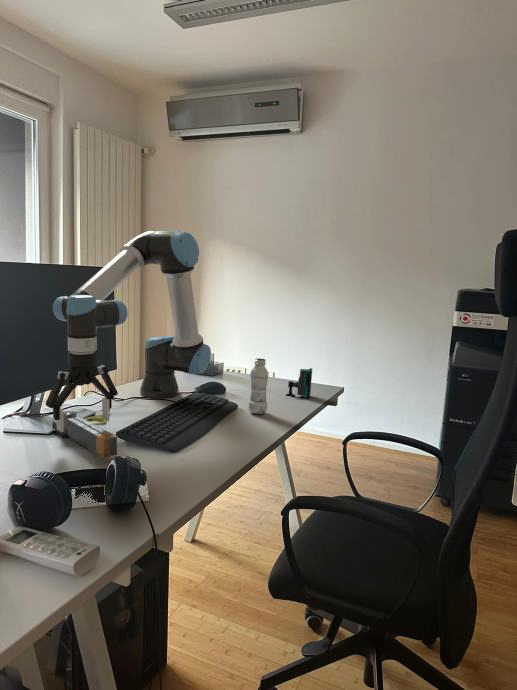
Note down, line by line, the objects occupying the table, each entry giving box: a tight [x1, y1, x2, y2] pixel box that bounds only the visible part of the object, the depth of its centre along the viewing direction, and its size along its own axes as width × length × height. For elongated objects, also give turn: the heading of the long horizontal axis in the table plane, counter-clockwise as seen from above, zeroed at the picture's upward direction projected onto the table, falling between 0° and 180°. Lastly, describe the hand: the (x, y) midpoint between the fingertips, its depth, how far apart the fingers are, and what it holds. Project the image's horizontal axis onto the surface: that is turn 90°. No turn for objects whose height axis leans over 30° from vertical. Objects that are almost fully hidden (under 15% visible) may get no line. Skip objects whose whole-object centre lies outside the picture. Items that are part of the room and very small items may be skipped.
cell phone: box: [72, 482, 150, 504], centre depth 107 cm, size 9×18×1 cm, turn 108°
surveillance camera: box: [285, 367, 313, 399], centre depth 196 cm, size 6×12×10 cm
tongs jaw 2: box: [74, 416, 118, 457], centre depth 132 cm, size 21×2×5 cm, turn 47°
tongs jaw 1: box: [67, 418, 111, 459], centre depth 131 cm, size 21×2×5 cm, turn 47°
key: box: [84, 409, 111, 426], centre depth 158 cm, size 7×12×2 cm, turn 9°
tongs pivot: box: [51, 410, 78, 439], centre depth 143 cm, size 10×4×7 cm, turn 47°
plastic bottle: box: [248, 357, 270, 415], centre depth 171 cm, size 6×7×20 cm
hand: (83, 425), depth 135 cm, fingers open, 13 cm apart
